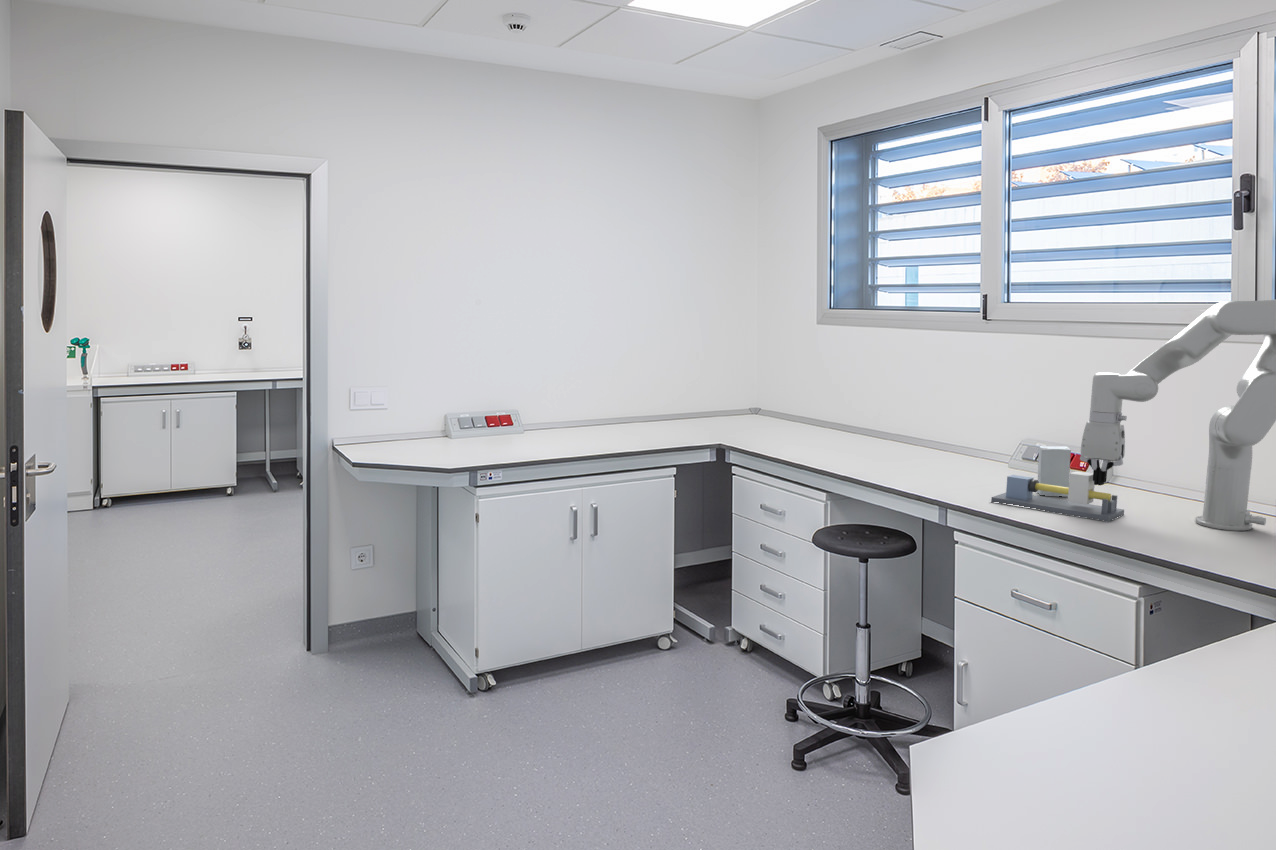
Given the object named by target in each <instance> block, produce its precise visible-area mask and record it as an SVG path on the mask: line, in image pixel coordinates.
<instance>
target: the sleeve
mask: <svg viewBox="0 0 1276 850" xmlns="http://www.w3.org/2000/svg"><path fill="white" fill-rule="evenodd" d="M1095 487H1096V486H1095V485H1094V481H1093V472H1092V473H1091V472H1084V471H1077V470H1076V471H1073V472H1070V474H1069V491H1068V497H1067V501H1068V502H1073V503H1079V504H1086V505H1087V504H1092V503H1094V499H1093V498H1088V497H1089V491H1095Z"/></svg>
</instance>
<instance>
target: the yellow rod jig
mask: <svg viewBox="0 0 1276 850" xmlns="http://www.w3.org/2000/svg"><path fill="white" fill-rule="evenodd" d="M1034 478H1035V477H1030V476H1024V475H1016V474H1010V475H1008V476H1006V490H1005V492H1002V493H1000V494H997V495H994V496H991V499H990V500H991V501H990V502H991V503H993V502H999V503H1006V504H1013V505H1019V506H1024V507H1030V508H1036V509H1040V510H1045V511H1044V512H1046V511H1049V512H1048V513H1052V512H1055V513H1054V514H1058V513H1062V514H1061V515H1064V514H1067V515H1066V516H1070V515H1074V516H1073V517H1076V516H1080V517H1079V518H1082V517H1087V518H1086V519H1088V518H1093V519H1092V520H1094V519H1099V520H1098V521H1100V520H1104V521H1103V522H1106V521H1110V520H1112V519H1114V520H1116V519H1118V518H1120V517H1122V516H1121V515H1123V516H1124V515H1125V509H1122V508H1118V505H1117V504H1118V495H1115V494H1111V493H1109V492H1100V491H1095V490H1094V491H1089V497H1088V498H1093V500H1099V501H1102V502H1101V505H1097V504H1092V503H1089V504H1087V505H1086V504H1079V503H1073V502H1068V500H1066V499H1059V498H1052V497H1048V496H1040V495H1034V494H1033V493H1038V492H1037V491H1038V490H1041V491H1047V492H1054V493H1060V494H1067V495H1068V491H1069V488H1068V487H1061V486H1055V485H1048V484H1041V483H1039V481H1038V479H1034ZM999 503H998V504H999ZM1040 510H1039V511H1040ZM1119 516H1120V517H1119ZM1117 517H1118V518H1117ZM1115 518H1116V519H1115ZM1112 521H1113V520H1112ZM1110 522H1111V521H1110Z"/></svg>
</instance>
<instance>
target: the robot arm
mask: <svg viewBox="0 0 1276 850" xmlns="http://www.w3.org/2000/svg"><path fill="white" fill-rule="evenodd" d="M1233 335H1234V336H1254V335H1255V336H1261V335H1263V341H1262V343H1261V344H1262V345H1261V347H1260V348H1259V351H1258V352H1257V355H1256V356H1255V357H1254V358H1253V361H1252V362H1251V363H1250V365H1248V368H1247V369H1246V371H1245V372H1244V373H1243V374H1242V376H1241V378H1240V379H1239V380H1238V382H1237V386H1236V394H1237V396H1238V398H1239V399H1238V400H1237V401H1236V403H1235V405H1226V406H1223V407H1221V408H1219V409H1218V410H1216V411H1215V412H1214V413H1213V415H1212V416H1211V418H1210V420H1209V426H1208V443H1209V444H1208V460H1207V468H1206V469H1207V470H1206V476H1205V477H1206V479H1205V488H1204V489H1205V490H1204V497H1203V498H1204V499H1203V510H1202V515H1198V516H1196V517H1195V520H1194V522H1195V524H1196V523H1197V524H1198V525H1201V526H1204V527H1207V528H1212V529H1217V530H1225V531H1240V532H1243V531H1250V530H1252V529H1253V524H1256V525H1261V526H1266V524H1267V518H1266V517H1263V516H1259V515H1253V514H1251V510H1250V509H1248V502H1249V492H1250V484H1251V483H1250V482H1251V474H1252V473H1251V472H1252V466H1253V465H1252V464H1253V446H1255V445H1257V444H1259V443H1260V442H1261V441H1262V440H1263V439H1264V438H1265V437H1266V435H1267V434H1268V433H1269V432H1270V430H1271V429H1272V428H1273V426H1274V425H1275V423H1276V299H1266V300H1263V299H1262V300H1224V301H1220V302H1217V303H1215V304H1213V305H1212V306H1211V307H1209V308H1208V309H1207V310H1205V311H1204V312H1203V313H1202V314H1201V315H1199V316H1198V317H1196V319H1195V320H1193V321H1192V322H1191V323H1190V324H1188V325H1187V327H1185V328H1183V329H1182V330H1181V331H1180V332H1179V333H1178V334H1177V335H1174V337H1173V338H1171V339H1170V340H1168V341H1167V342H1166V343H1164V344H1162V345H1161V346H1160V347H1159V348H1158V349H1156V350H1155V351H1153V352H1152V353H1150V355H1148V356H1147V357H1145V358H1144V359H1143V360H1141V361H1140V362H1139V363H1138V364H1136V365H1135V366H1134V367H1133V368H1132V369H1130V370H1129V371H1128V372H1127V373H1126V374H1121V373H1118V372H1111V371H1110V372H1107V371H1105V372H1101V371H1100V372H1096V373H1094V375H1093V376H1092V377H1093V378H1092V385H1091V398H1090V407H1089V410H1090V411H1089V418H1088V419H1089V420H1088V421H1086V423H1085V426H1084V429H1083V433H1082V437H1081V444H1080V457H1079V460H1080V461H1081V462H1084V463H1087V464H1088V465H1089V466H1090V467H1091V469H1092V470H1093V471H1092V473H1093V481H1094V485H1096V486H1097V485H1098V486H1103V485H1105V483H1106V482H1107V478H1108V476H1107V475H1108V471H1109V469H1112V468H1113V467H1119V466H1122V465H1124V460H1123V459H1124V457H1125V453H1126V435H1125V434H1126V433H1125V425H1124V424H1123V423H1122V422H1124V421H1127V415H1124V414H1123V412H1122V409H1123V400H1125V401H1131V402H1137V403H1146V402H1148V401H1151V400H1153V399H1154V398H1155V397H1156V396H1157V394H1158V392H1159V384H1161V383H1162V381H1164V380H1165V379H1166V378H1168V377H1169V376H1171V375H1173V374H1174V373H1176V372H1178V371H1181V370H1182V369H1185V368H1188V367H1189V366H1193V365H1195V364H1196V363H1198V362H1199V361H1201V360H1202V359H1203V358H1205V357H1206V356H1207V355H1208V354H1209V353H1210V352H1212V351H1213V350H1214V349H1216V348H1217V347H1218V346H1219V345H1220V344H1222V343H1223V342H1225V341H1226V340H1227V339H1228V338H1229V337H1231V336H1233ZM1100 460H1101V461H1102V464H1101V462H1100Z"/></svg>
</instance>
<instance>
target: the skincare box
mask: <svg viewBox="0 0 1276 850" xmlns="http://www.w3.org/2000/svg"><path fill="white" fill-rule="evenodd" d="M1071 454H1072V449H1070V448H1069V447H1068V446H1067V445H1063V446H1062V445H1060V446H1057V445H1054V446H1053V445H1047V446H1046V445H1039V446H1038V456H1037V457H1038V458H1037V459H1038V461H1037V462H1038V463H1037V480H1038V481H1039V483H1041V484H1048V485H1055V486H1061V487H1068V488H1069V478H1070V473H1071V471H1070V470H1071ZM1036 493H1037V494H1038V493H1039V494H1040V495H1045V496H1044V497H1059V496H1062V498H1064V497H1065V498H1068V495H1067V494H1060V493H1054V492H1047V491H1041V490H1038V491H1037V492H1036ZM1039 494H1038V495H1039ZM1040 495H1039V496H1040Z"/></svg>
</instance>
